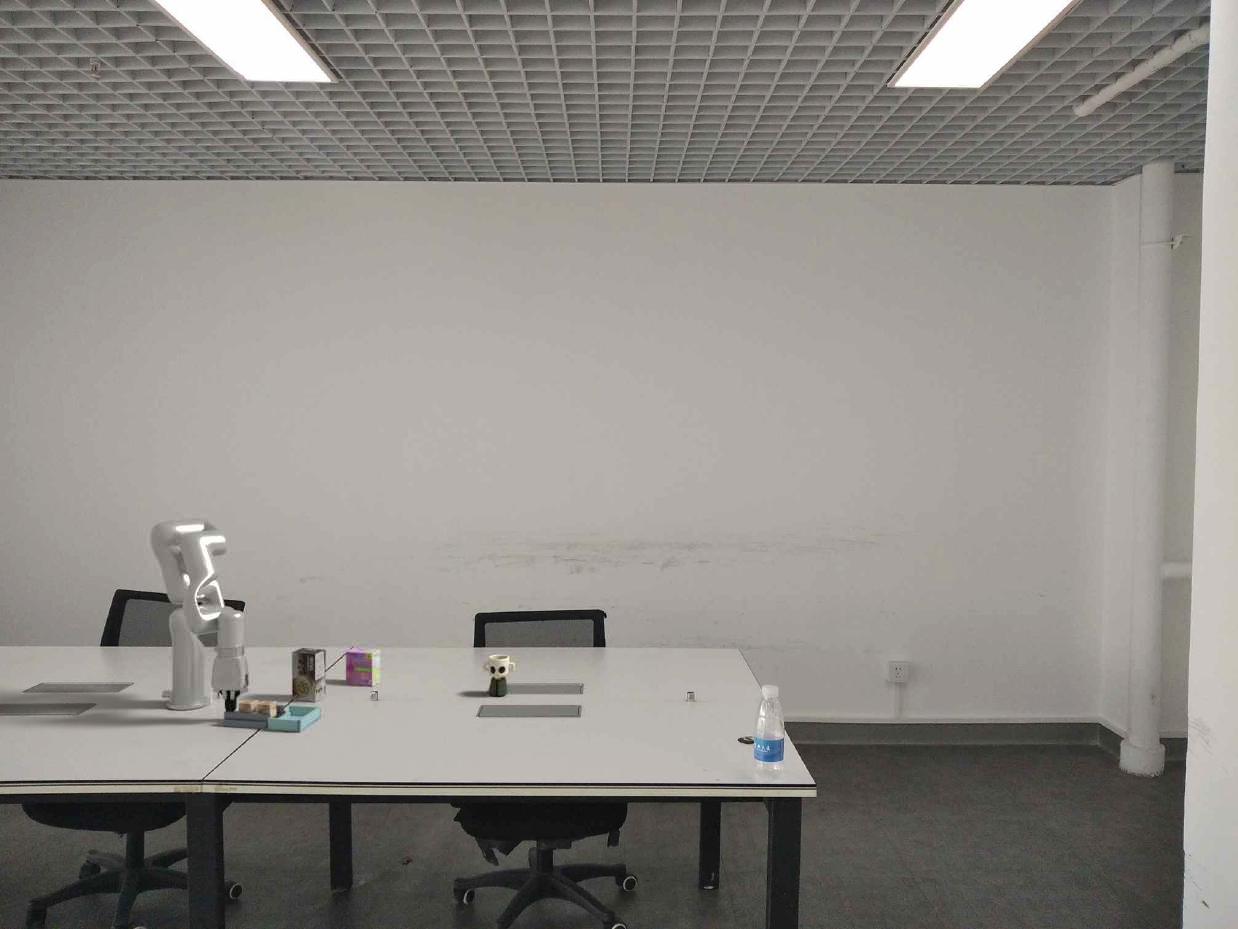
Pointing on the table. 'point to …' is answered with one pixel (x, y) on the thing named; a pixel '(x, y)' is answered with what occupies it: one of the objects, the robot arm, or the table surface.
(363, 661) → the box
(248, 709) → the chip
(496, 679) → the character mug
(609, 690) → the table surface
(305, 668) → the coffee box
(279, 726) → the tray
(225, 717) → the slot rail
